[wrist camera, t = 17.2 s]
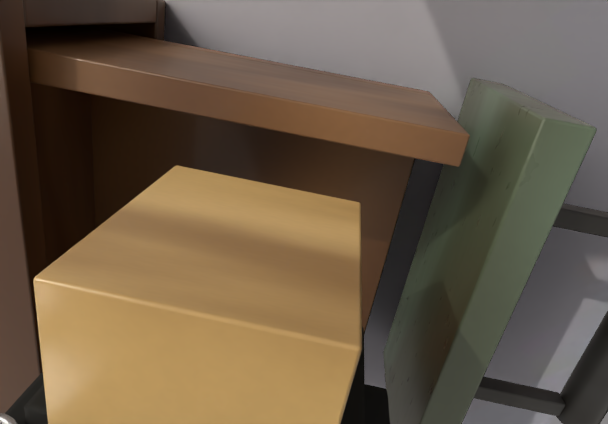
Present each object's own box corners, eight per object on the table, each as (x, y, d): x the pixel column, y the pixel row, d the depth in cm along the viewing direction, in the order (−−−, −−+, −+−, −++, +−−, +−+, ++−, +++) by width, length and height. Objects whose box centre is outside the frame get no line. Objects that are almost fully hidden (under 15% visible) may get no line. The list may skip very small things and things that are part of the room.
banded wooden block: (174, 163, 9) (23, 279, 5) (363, 201, 9) (367, 353, 5) (160, 448, 13) (65, 650, 9) (294, 478, 13) (264, 699, 9)
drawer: (666, 114, 15) (871, 181, 9) (526, 382, 21) (596, 537, 15) (84, 3, 16) (-87, -4, 10) (95, 290, 22) (-11, 401, 15)
